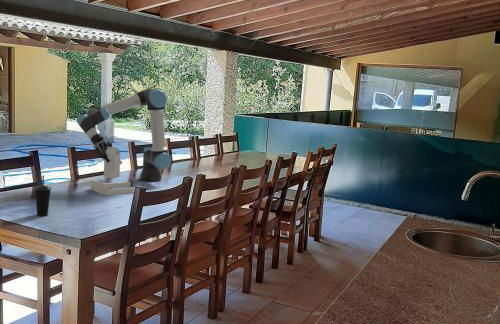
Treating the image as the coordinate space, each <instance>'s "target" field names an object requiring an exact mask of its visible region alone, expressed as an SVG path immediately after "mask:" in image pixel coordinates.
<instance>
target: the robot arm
mask: <svg viewBox="0 0 500 324" xmlns="http://www.w3.org/2000/svg"><path fill="white" fill-rule="evenodd" d="M167 102H168V97H167V94H166V93H165V92H164V91H163V90H161V89H157V88H146V89H143V90H140V91H138V92H134V94H133V95H130V96H128V97H124V98H122V99H118V100H116V101H115V100H114V101H113V102H109V103H106V104H103V105H100V106H96V107H91V108H88V109H87V110H86V112H85V113H84V114H81V115H79V116H78V117H77V118H76V123H77V124H78V126H79V128H81V130H82V131H83V133H84V134H85V135H86V136H87V138H88V139H89V140H90V142H91V143H92V147H93V148H94V149H95V151H96V152H97V153H98V155H99V157H100V159H102V160H103V161H104V159H105V160H106V161H107V162H108V164H109V165H110V166H111V167H113V166H114V165H115V164H114V163H113V161H112V160H111V159H110V158H109V156H108V157H107V154H106V152H105V151H106V150H107V146H108V147H113V146H112V145H111V144H110V141H107V142H106V141H105V140H104V139H105V138H104V135H103V134H102V133H101V132H100V131H99V129H98V127H97V126H98V125H100V124H101V123H103V122H105V121H107V120H108V119H109V118H111V116H112V115H114V114H117V113H120V112H124V111H126V110H130V109H132V108H135V107H139V108H140V107H144V106H147V107H146V109H147V111H148V112H149V117H150V118H149V119H150V129H151V130H150V131H151V141H152V144H151V145H152V147H145V148H144V149H143V157H142V159H143V160H142V169H141V173H140V175H139V180H141V181H145V182H160V181H162V175H161V171H160V170H165V169H167V168H168V167H169V166H171V163H172V157H171V156H170V154H169V149H168V147H167V146H166V139H165V138H166V137H165V124H164V123H165V122H164V111H165V110H166V104H167ZM122 164H123V161H122V160H121V159H120V166H121V165H122Z"/></svg>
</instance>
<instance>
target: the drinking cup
mask: <svg viewBox="0 0 500 324" xmlns="http://www.w3.org/2000/svg"><path fill="white" fill-rule="evenodd" d="M41 183H42V185H39V186H37V187H36V186H35V187H34V193H35V194H34V195H35V204H36V205H35V206H36V216H37V215H38V216H37V217H47V216H48V215H49V208H50V207H49V206H50V199H51V190H52V187H50V186H48V185H45V184H44V183H45V175H42V180H41Z"/></svg>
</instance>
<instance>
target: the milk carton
mask: <svg viewBox="0 0 500 324" xmlns="http://www.w3.org/2000/svg"><path fill="white" fill-rule="evenodd" d="M105 152H106V154H107V157H108V156H109V158H110V159H111V160H112V161H113V163H114V164H115V165H114V166H113V167H111V166H110V165H109V164H108V162H107V161H106V160H105V159H104V160H103V164H104V165H103V178H107V179H118V178H119V177H120V176H121V175H120V174H121V165H120V160H121V152H120V150H119V147H118V146H117V147H115V146H112V147H108V146H107V150H105Z"/></svg>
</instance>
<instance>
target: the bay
mask: <svg viewBox="0 0 500 324" xmlns="http://www.w3.org/2000/svg"><path fill="white" fill-rule="evenodd" d="M133 183H134V178H129V181H120V182H119V181H118V182H105V183H103V182H101V181H98V180H96V179H91V190H93V191H95V192H97V193H99V194H101V195H103V196H109V195H121V194H122V195H123V194H134V193H133V191H134V188H135V187H136V186H134V187H133ZM141 185H142V186H143V187H145V188H146V183H142V184H141ZM142 186H141V187H142Z"/></svg>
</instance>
